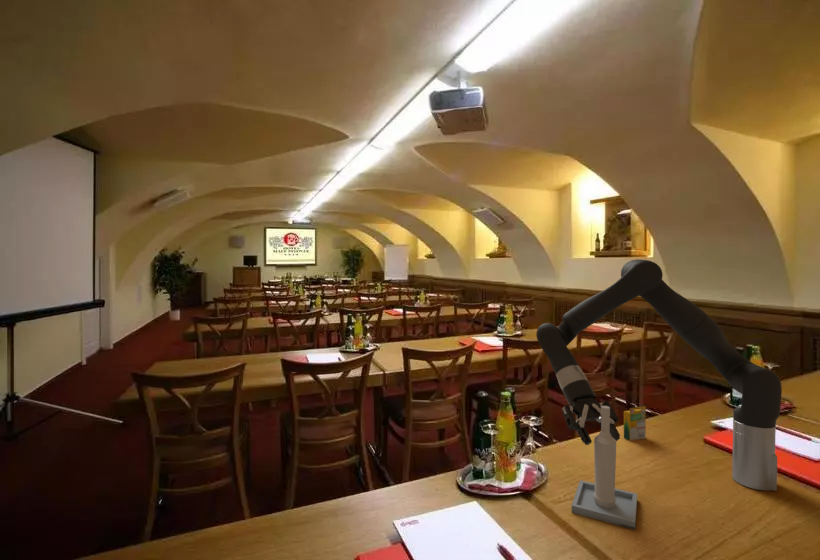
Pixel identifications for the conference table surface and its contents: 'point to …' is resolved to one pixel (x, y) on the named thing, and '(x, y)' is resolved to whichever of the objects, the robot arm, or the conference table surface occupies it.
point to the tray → (617, 515)
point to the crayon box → (635, 423)
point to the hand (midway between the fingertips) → (603, 442)
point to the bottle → (605, 463)
